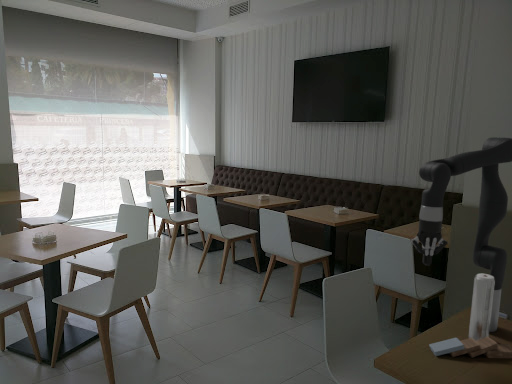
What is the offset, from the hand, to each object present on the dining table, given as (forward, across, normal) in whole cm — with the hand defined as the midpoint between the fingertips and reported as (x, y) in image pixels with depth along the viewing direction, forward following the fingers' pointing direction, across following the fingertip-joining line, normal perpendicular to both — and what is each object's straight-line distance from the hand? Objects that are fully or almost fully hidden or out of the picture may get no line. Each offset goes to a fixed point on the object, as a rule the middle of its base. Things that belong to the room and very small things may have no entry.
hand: (426, 264), depth 143 cm
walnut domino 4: (+29, +19, -9) cm, 36 cm away
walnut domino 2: (+28, +12, -10) cm, 32 cm away
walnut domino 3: (+28, +18, -9) cm, 34 cm away
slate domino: (+28, +1, -9) cm, 30 cm away
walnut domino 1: (+28, +6, -9) cm, 30 cm away
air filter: (+29, +22, +2) cm, 37 cm away
